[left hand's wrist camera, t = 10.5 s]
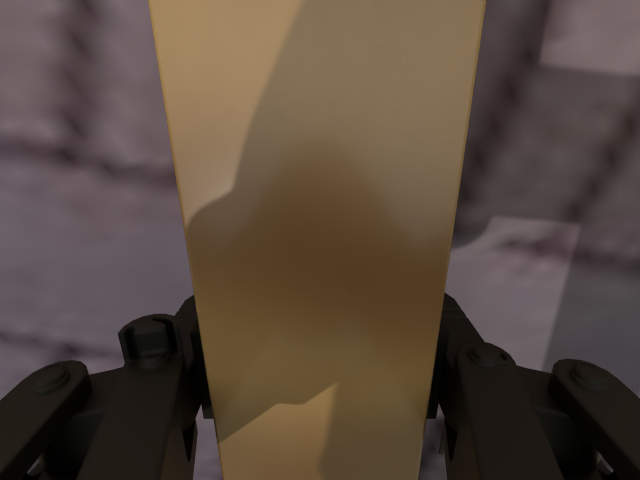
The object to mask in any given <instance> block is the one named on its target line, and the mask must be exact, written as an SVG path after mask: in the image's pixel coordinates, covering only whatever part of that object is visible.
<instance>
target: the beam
mask: <svg viewBox="0 0 640 480" xmlns="http://www.w3.org/2000/svg"><path fill="white" fill-rule="evenodd" d="M148 3H149V9H150V15H151V22H152V28H153V34H154V41H155V47H156V54H157V60H158V66H159V73H160V79H161V86H162V92H163V98H164V105H165V111H166V118H167V124H168V130H169V137H170V143H171V150H172V156H173V162H174V169H175V175H176V182H177V188H178V194H179V201H180V207H181V214H182V220H183V226H184V233H185V239H186V245H187V252H188V258H189V265H190V271H191V277H192V284H193V290H194V297H195V303H196V309H197V316H198V322H199V329H200V335H201V341H202V348H203V354H204V361H205V367H206V373H207V380H208V386H209V393H210V399H211V405H212V412H213V418H214V425H215V431H216V437H217V444H218V450H219V456H220V463H221V469H222V476H223V480H418V474H419V467H420V460H421V453H422V446H423V439H424V432H425V425H426V418H427V411H428V405H429V398H430V391H431V384H432V377H433V370H434V363H435V356H436V349H437V342H438V335H439V328H440V321H441V314H442V307H443V300H444V293H445V286H446V279H447V272H448V265H449V258H450V251H451V244H452V237H453V230H454V223H455V216H456V209H457V202H458V195H459V188H460V181H461V174H462V167H463V160H464V153H465V146H466V139H467V132H468V125H469V118H470V111H471V104H472V97H473V90H474V83H475V76H476V69H477V62H478V55H479V48H480V41H481V34H482V27H483V20H484V13H485V6H486V0H148Z"/></svg>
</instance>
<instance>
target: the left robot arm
mask: <svg viewBox="0 0 640 480" xmlns="http://www.w3.org/2000/svg"><path fill="white" fill-rule="evenodd" d="M118 336H119V340H120V344H121V348H122V352H123V356H124V360H125V364H124V366H123V367H121V368H118V369H114V370H109V371H105V372H100V373H95V374H91V375H89V373H88V370H87V367H86V365H84V364H83V363H82V362H80V361H73V360H70V361H62V362H57V363H54V364H50V365H47V366H45V367H43V368H41V369H39V370H37V371H35V372H33V373H32V374H31V375H29V376H28V377H26V378H25V379H24V380H22V381H21V382H20V383H19V384H18V385H17V386H16V387H15V388H14V389H12V390H11V391H10V392H9V393H8V394H7V395H6V396H5V397H4V398H3V399H1V400H0V480H193V472H194V463H195V453H196V443H197V434H198V432H197V425H196V419H195V418H196V415H197V413H198V410H199V408H200V405H201V404H202V411H203V417H204V419H214V418H213V412H212V405H211V399H210V393H209V386H208V380H207V373H206V367H205V361H204V354H203V348H202V341H201V335H200V329H199V322H198V316H197V309H196V303H195V297H194V295H193V296H191V297H190V298H188V299H187V300H185V302H184V303H183V305H182V306H181V308H180V309H179V311H178V312H177V313H176V315H175V316H172V315H168V314H152V315H148V316H143V317H141V318H138V319H136V320H133V321H131V322H130V323H128V324H127V325H125V326H124V327H123V328H122V329H121V330H120V331H119V333H118ZM438 403H439V404H440V407H441V409H442V412H443V414H444V417H445V419H444V425H443V431H442V436H441V442H440V448H439V454H443V453H444V452H445V462H446V471H447V480H640V398H639V397H637V396H636V395H635V394H634V393H633V392H632V391H631V390H630V389H629V388H628V387H626V386H625V385H624V384H623V383H622V382H621V381H620V380H619V379H617V378H616V377H615V376H613V375H612V374H611V373H609V372H608V371H606V370H604V369H602V368H600V367H598V366H596V365H594V364H592V363H589V362H585V361H581V360H575V359H563V360H559V361H557V362H556V363H555V364H554V366H553V369H552V372H551V373H547V372H542V371H537V370H533V369H528V368H524V367H520V366H517V365H516V363H515V361H514V360H513V359H512V357H511V356H510V355H509V354H508V353H507V352H505V351H504V350H503V349H501V348H499V347H497V346H495V345H493V344H490V343H486V342H484V340H483V339H482V338H481V336H480V335H479V333H478V332H477V331H476V329H475V328H474V326H473V325H472V323H471V322H470V321H469V319H468V318H466V315H465V314H464V312H463V311H462V310H461V308H460V306H459V305H458V304H457V302H456V301H455V299H453V298H452V297H450V296H449V295H448V294H446V293H444V300H443V307H442V314H441V321H440V328H439V335H438V342H437V349H436V356H435V363H434V370H433V377H432V384H431V391H430V398H429V405H428V411H427V418H426V419H436V415H437V409H438ZM601 457H603V458H604V459H605V460H606V462H607V463H608V464H609V465H610V466H611V468H612V469H613V470H614V471H613V472H610V471H609V470H608V469H607V468H606V467H605V465H604V464H603V463H602V462H601V460H600V459H601ZM38 458H39V460H40V462H39V463H38V465H37V466H36V467H35V468H34V469H33V470H32V471H31V472H30V473H29V474H28V473H27V471H28V470H29V469H30V467H31V466H32V465H33V464H34V463H35V461H36V460H37V459H38Z"/></svg>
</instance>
